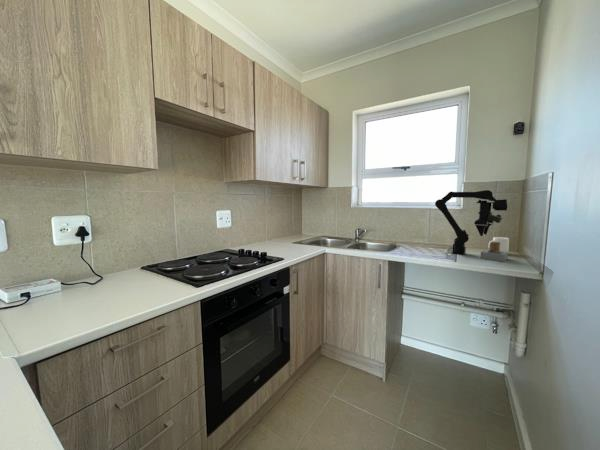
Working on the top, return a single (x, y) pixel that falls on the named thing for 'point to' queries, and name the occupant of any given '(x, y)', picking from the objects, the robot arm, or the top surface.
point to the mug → (501, 243)
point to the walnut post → (494, 247)
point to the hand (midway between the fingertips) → (483, 235)
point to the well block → (494, 255)
